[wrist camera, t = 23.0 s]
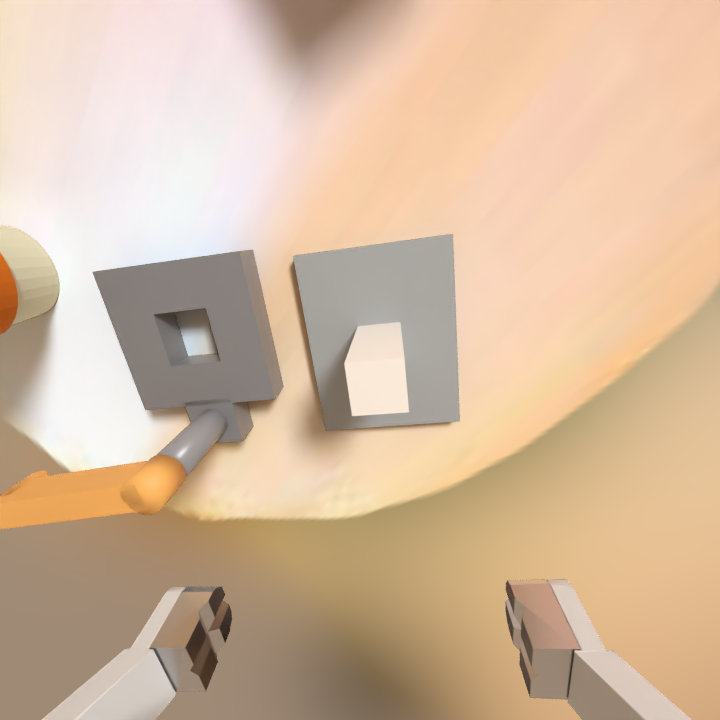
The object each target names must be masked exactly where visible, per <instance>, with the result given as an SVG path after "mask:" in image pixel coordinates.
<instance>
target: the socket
mask: <svg viewBox="0 0 720 720" xmlns="http://www.w3.org/2000/svg"><path fill="white" fill-rule="evenodd" d="M93 275H94V277H95V280H96V282H97V285H98V288H99V290H100V293H101V295H102V298H103V301H104V303H105V306H106V309H107V311H108V314H109V316H110V319H111V322H112V324H113V327H114V329H115V332H116V335H117V337H118V340H119V343H120V345H121V348H122V350H123V353H124V356H125V358H126V361H127V363H128V366H129V369H130V371H131V374H132V377H133V379H134V382H135V384H136V387H137V390H138V392H139V395H140V397H141V400H142V403H143V405H144V408H145V410H150V409H162V408H174V407H186V410H187V413H188V416H189V419H190V422H191V423H190V424H189V425H188V426H187V427H186V428H185V429H184V430H183V431H182V432H181V433H180V434H178V435H177V436H176V437H175V438H174V439H173V440H172V441H171V442H170V443H169V444H168V445H167V446H166V447H165V448H164V449H162V450H161V451H160V452H159V453H158V454H157V455H168V456H171V457H173V458H175V459H176V460H178V461H179V462H180V463H181V464H182V466H183V467H184V469H185V472H186V477H187V476H188V474H189V473H190V472H191V471H192V470H193V468H194V467H195V466H196V465H197V464H198V463H199V461H200V460H201V459H202V458H203V457H204V456H205V454H206V453H207V452H208V451H209V450H210V448H211V447H212V446H213V445H214V444H215V443H223V442H238V441H243V440H244V438H245V437H246V436H247V434H248V433H249V432H250V430H251V429H252V427H253V423H252V419H251V415H250V412H249V408H248V404H247V401H259V400H271V399H275V398H276V396H277V395H278V394H279V392H280V391H281V389H282V388H283V387H284V386H283V382H282V377H281V373H280V369H279V364H278V360H277V355H276V351H275V346H274V342H273V337H272V333H271V328H270V324H269V320H268V315H267V311H266V306H265V302H264V297H263V293H262V288H261V284H260V279H259V275H258V271H257V266H256V262H255V257H254V253H253V250H247V251H238V252H230V253H223V254H216V255H209V256H202V257H195V258H188V259H181V260H174V261H167V262H159V263H152V264H145V265H138V266H131V267H124V268H117V269H110V270H103V271H96V272H93ZM203 308H206V311H207V315H208V318H209V322H210V325H211V329H212V332H213V336H214V339H215V343H216V346H217V350H218V353H216V354H207V355H197V356H188V354H187V351H186V348H185V345H184V342H183V339H182V335H181V332H180V329H179V326H178V323H177V320H176V316H175V313H174V312H178V311H186V310H195V309H203Z"/></svg>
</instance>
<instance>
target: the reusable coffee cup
mask: <svg viewBox="0 0 720 720" xmlns="http://www.w3.org/2000/svg"><path fill="white" fill-rule="evenodd" d="M58 295H59V278H58V274H57V271H56V268H55V265H54V263H53V262H52V260H51V258H50V256H49V255H48V253H47V252H46V251H45V249H44V248H43V247H42V246H41V245H40V244H39V243H38V242H37V241H36V240H35V239H33V238H32V237H31V236H30V235H28V234H27V233H25V232H23V231H21V230H19V229H16V228H14V227H11V226H4V225H0V334H2V333H4V332H5V331H6V330H7V329H8V328H9V327H10V326H12V325H14V324H17V323H20V322H22V321H25V320H28V319H31V318H33V317H36V316H39V315H41V314H44V313H46V312H47V311H49V310H50V309H51V308H52V307H53V306H54V305H55V303H56V301H57V299H58Z"/></svg>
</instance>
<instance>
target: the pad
mask: <svg viewBox="0 0 720 720" xmlns="http://www.w3.org/2000/svg"><path fill="white" fill-rule="evenodd" d="M293 260H294V265H295V270H296V275H297V281H298V286H299V291H300V297H301V302H302V307H303V313H304V318H305V323H306V329H307V334H308V339H309V345H310V350H311V355H312V361H313V366H314V371H315V376H316V382H317V387H318V392H319V398H320V403H321V408H322V414H323V419H324V424H325V430H326V431H327V430H342V429H356V428H370V427H385V426H399V425H414V424H428V423H443V422H457V421H460V413H459V386H458V358H457V331H456V304H455V277H454V249H453V234H450V235H443V236H435V237H428V238H420V239H413V240H406V241H398V242H391V243H384V244H376V245H369V246H362V247H354V248H347V249H340V250H332V251H325V252H318V253H310V254H303V255H296V256H293ZM394 322H400V324H401V332H402V341H403V350H404V359H405V370H406V382H407V394H408V405H409V412H407V413H392V414H377V415H363V416H352V412H351V406H350V399H349V392H348V385H347V379H346V372H345V365H344V363H345V360H346V357H347V354H348V352H349V349H350V346H351V343H352V341H353V338H354V335H355V332H356V330H357V327H358V326H365V325H375V324H385V323H394Z"/></svg>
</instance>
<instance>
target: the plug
mask: <svg viewBox="0 0 720 720" xmlns="http://www.w3.org/2000/svg"><path fill="white" fill-rule="evenodd" d="M344 365H345V372H346V379H347V385H348V392H349V399H350V406H351V412H352V416H363V415H377V414H392V413H407V412H409V405H408V394H407V382H406V370H405V359H404V350H403V341H402V332H401V324H400V322H394V323H385V324H375V325H365V326H358V327H357V330H356V332H355V335H354V338H353V341H352V343H351V346H350V349H349V352H348V354H347V357H346V360H345V363H344Z"/></svg>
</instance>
